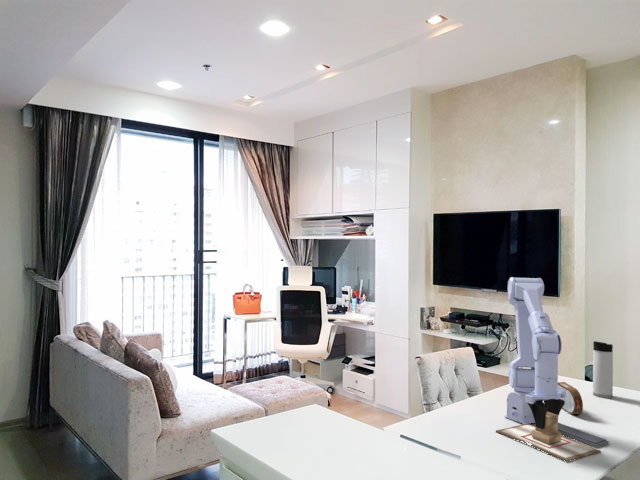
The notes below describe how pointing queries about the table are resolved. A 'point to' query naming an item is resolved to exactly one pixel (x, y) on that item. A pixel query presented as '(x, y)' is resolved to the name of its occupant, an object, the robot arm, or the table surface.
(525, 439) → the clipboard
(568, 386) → the tin
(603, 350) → the travel mug
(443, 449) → the table surface
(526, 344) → the robot arm
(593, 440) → the ink pad
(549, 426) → the stamp
